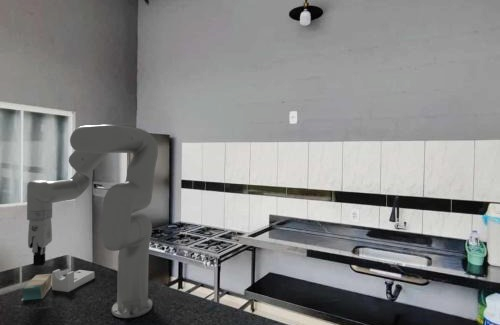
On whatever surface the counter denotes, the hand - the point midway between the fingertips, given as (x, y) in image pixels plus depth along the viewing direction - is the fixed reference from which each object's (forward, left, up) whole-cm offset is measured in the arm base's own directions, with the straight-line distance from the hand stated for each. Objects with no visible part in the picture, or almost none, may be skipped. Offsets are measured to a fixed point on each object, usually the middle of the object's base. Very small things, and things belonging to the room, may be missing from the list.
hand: (39, 264), depth 110 cm
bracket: (+3, -11, -11) cm, 15 cm away
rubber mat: (+2, 0, -10) cm, 10 cm away
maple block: (+5, 0, -8) cm, 9 cm away
